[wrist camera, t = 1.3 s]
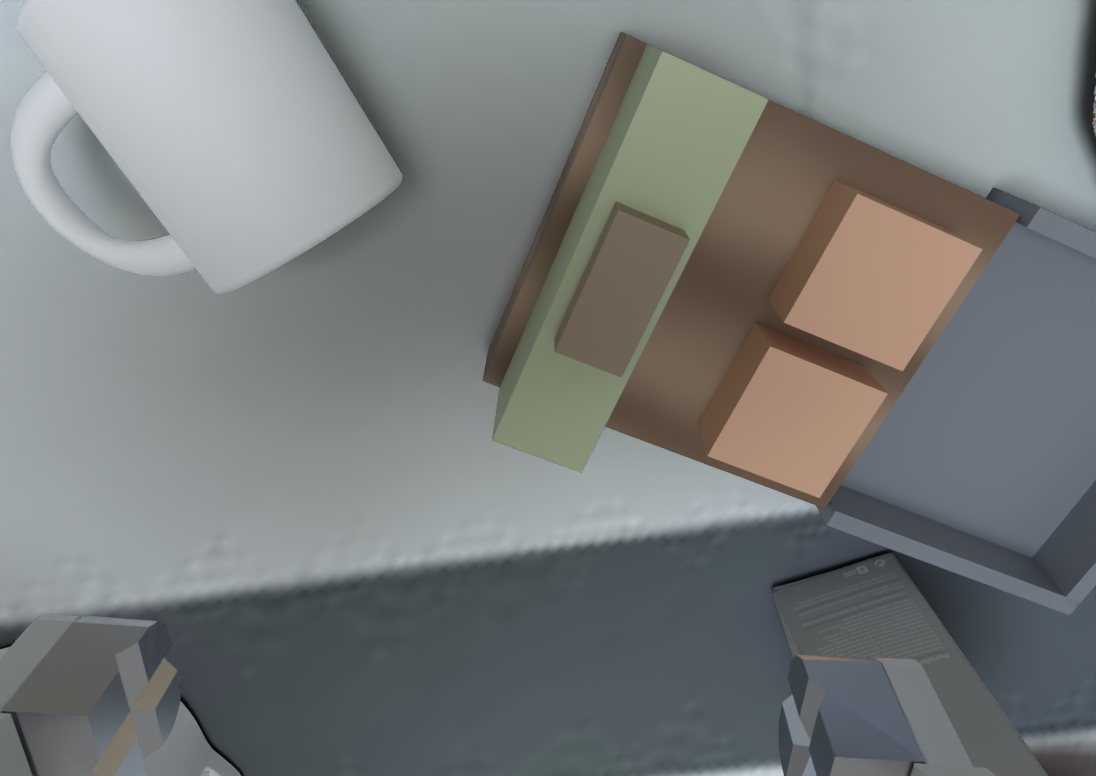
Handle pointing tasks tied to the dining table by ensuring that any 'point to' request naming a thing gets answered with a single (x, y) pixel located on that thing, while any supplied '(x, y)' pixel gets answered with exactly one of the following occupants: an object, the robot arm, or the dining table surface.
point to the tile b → (871, 276)
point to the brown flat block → (743, 265)
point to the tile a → (789, 411)
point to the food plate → (1094, 112)
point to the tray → (997, 427)
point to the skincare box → (901, 649)
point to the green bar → (622, 255)
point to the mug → (200, 131)
